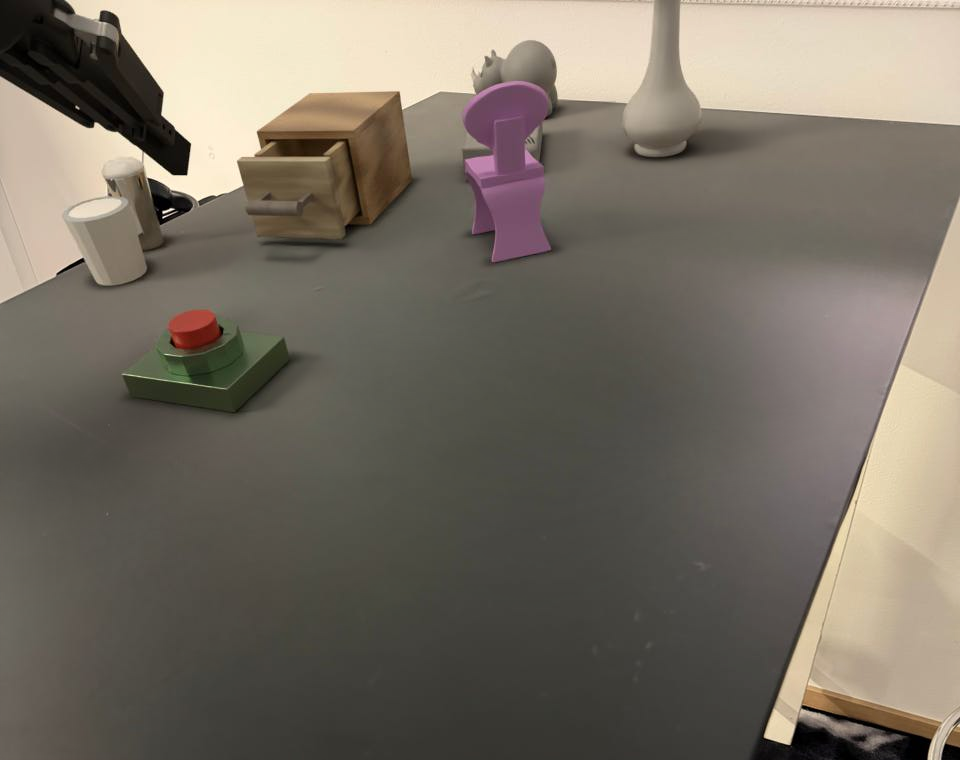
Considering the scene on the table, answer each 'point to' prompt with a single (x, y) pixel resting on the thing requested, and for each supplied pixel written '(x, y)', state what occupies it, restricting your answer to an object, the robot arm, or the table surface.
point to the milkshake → (135, 197)
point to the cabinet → (355, 140)
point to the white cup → (107, 239)
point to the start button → (194, 329)
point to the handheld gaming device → (480, 150)
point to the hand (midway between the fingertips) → (181, 159)
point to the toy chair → (507, 167)
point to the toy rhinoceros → (521, 69)
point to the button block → (208, 369)
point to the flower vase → (662, 92)
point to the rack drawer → (301, 188)
